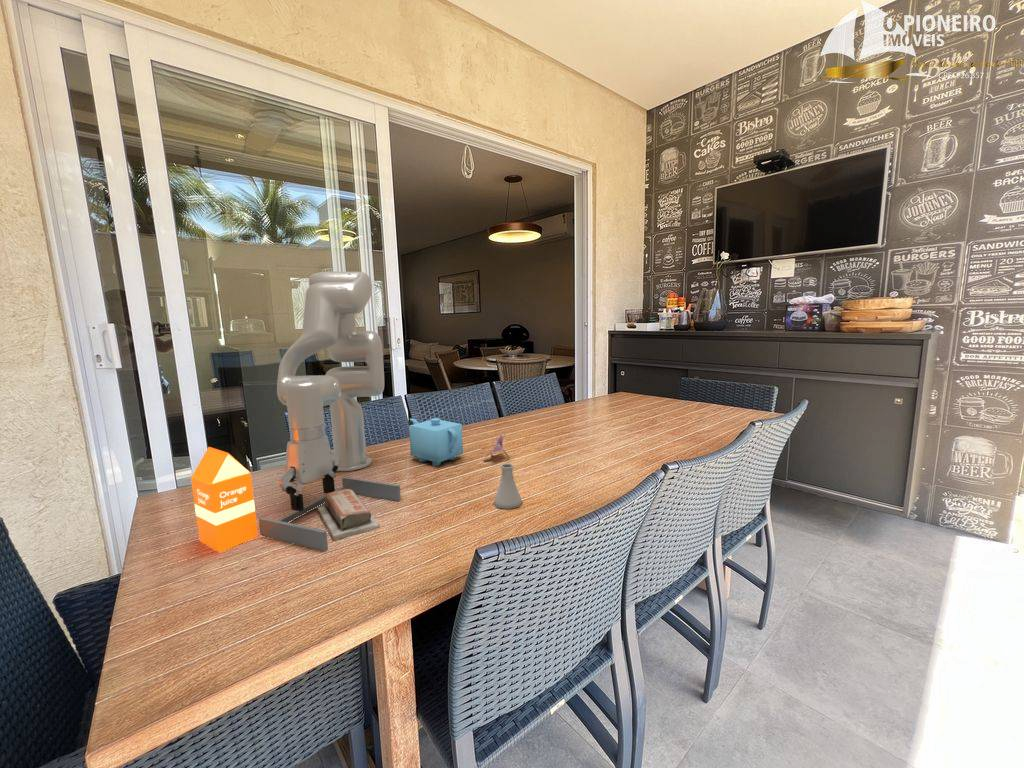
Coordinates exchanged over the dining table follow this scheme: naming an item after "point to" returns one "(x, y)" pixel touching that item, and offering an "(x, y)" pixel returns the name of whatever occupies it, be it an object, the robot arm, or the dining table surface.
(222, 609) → the dining table surface
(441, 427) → the teapot
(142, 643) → the dining table surface
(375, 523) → the packaged product
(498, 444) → the lily
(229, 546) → the orange juice
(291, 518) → the grey twin-plate frame
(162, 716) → the dining table surface
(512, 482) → the flask
